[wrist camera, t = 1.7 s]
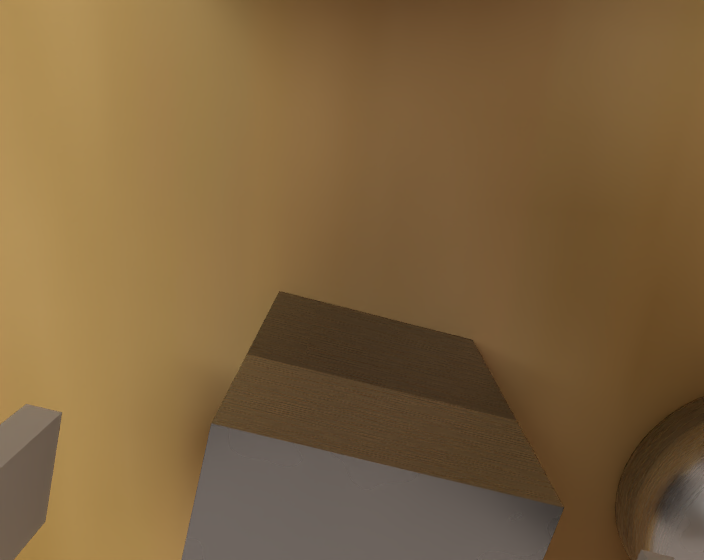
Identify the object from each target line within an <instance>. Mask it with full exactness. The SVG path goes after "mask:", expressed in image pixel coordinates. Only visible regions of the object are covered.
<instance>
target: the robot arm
mask: <svg viewBox="0 0 704 560" xmlns="http://www.w3.org/2000/svg"><path fill="white" fill-rule="evenodd" d="M61 416H62V412H58V411H54V410H50V409H45V408H41V407H37V406H33V405H29V404H26V405H24V406H23V407H22V408H21V409H19V410H18V411H17V412H15V413H14V414H13V415H12V416H10V417H9V418H8V419H7V420H5V421H4V422H3V423H1V424H0V560H14V559H15V557H16V556H17V555H18V554H19V553H20V551H21V550H22V549H23V548H24V547H25V545H26V544H27V543H28V542H29V541H30V539H31V538H32V537H33V536H34V535H35V533H36V532H37V531H38V530H39V529H40V527H41V526H42V525H43V524H44V522H45V520H46V514H47V507H48V501H49V494H50V488H51V481H52V475H53V468H54V461H55V455H56V448H57V442H58V435H59V429H60V422H61ZM637 560H675V559H674V557H670V556H666V555H662V554H658V553H653V552H649V551H645V550H641V551H640V554H639V556H638V558H637Z"/></svg>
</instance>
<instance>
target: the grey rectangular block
mask: <svg viewBox="0 0 704 560" xmlns="http://www.w3.org/2000/svg"><path fill="white" fill-rule="evenodd" d="M563 509H564V507H563V505H562V503H561V501H560V499H559V498H558V496H557V494H556V492H555V490H554V488H553V487H552V485H551V483H550V481H549V479H548V477H547V476H546V474H545V472H544V470H543V468H542V466H541V465H540V463H539V461H538V459H537V457H536V455H535V454H534V452H533V450H532V448H531V446H530V444H529V443H528V441H527V439H526V437H525V435H524V433H523V432H522V430H521V428H520V426H519V424H518V422H517V421H516V419H515V417H514V415H513V413H512V411H511V410H510V408H509V406H508V404H507V402H506V400H505V399H504V397H503V395H502V393H501V391H500V389H499V388H498V386H497V384H496V382H495V380H494V378H493V377H492V375H491V373H490V371H489V369H488V367H487V366H486V364H485V362H484V360H483V358H482V356H481V355H480V353H479V351H478V349H477V347H476V345H475V344H474V342H473V340H470V339H466V338H462V337H458V336H454V335H450V334H446V333H442V332H439V331H435V330H431V329H427V328H423V327H419V326H415V325H411V324H407V323H403V322H399V321H395V320H391V319H387V318H383V317H379V316H375V315H371V314H367V313H363V312H359V311H355V310H351V309H347V308H343V307H339V306H335V305H331V304H327V303H324V302H320V301H316V300H312V299H308V298H304V297H300V296H296V295H292V294H288V293H284V292H280V291H279V293H278V295H277V297H276V299H275V301H274V303H273V305H272V307H271V309H270V311H269V313H268V314H267V316H266V318H265V320H264V322H263V324H262V326H261V328H260V330H259V332H258V334H257V336H256V338H255V340H254V342H253V344H252V345H251V347H250V349H249V351H248V353H247V355H246V357H245V359H244V361H243V363H242V365H241V367H240V369H239V371H238V373H237V375H236V377H235V378H234V380H233V382H232V384H231V386H230V388H229V390H228V392H227V394H226V396H225V398H224V400H223V402H222V404H221V406H220V408H219V409H218V411H217V413H216V415H215V417H214V419H213V421H212V423H211V427H210V432H209V436H208V441H207V446H206V450H205V455H204V459H203V464H202V468H201V473H200V478H199V482H198V487H197V491H196V496H195V501H194V505H193V510H192V514H191V519H190V523H189V528H188V533H187V537H186V542H185V546H184V551H183V556H182V560H543V558H544V556H545V553H546V551H547V548H548V546H549V544H550V541H551V539H552V536H553V534H554V531H555V529H556V526H557V524H558V521H559V519H560V516H561V514H562V511H563Z"/></svg>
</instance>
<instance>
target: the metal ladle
mask: <svg viewBox="0 0 704 560" xmlns="http://www.w3.org/2000/svg"><path fill="white" fill-rule="evenodd" d="M615 512H616V524H617V529H618V533H619V537H620V539H621V542H622V544H623V547H624V549H625V551H626V552H627V554H628V556H629V557H630V559H631V560H637V558H638V556H639V554H640V551H641V550H645V551H649V552H653V553H658V554H662V555H666V556H670V557H674V559H675V560H704V397H701V398H699V399H697V400H695V401H693V402H691V403H689V404H687V405H685V406H683V407H681V408H680V409H678V410H677V411H675V412H674V413H672V414H671V415H669V416H668V417H667V418H665V419H664V420H663V421H662V422H660V423H659V424H658V425H657V426H656V427H655V428H654V429H653V430H652V431H651V432H650V433H649V434H648V435H647V436H646V437H645V438H644V439H643V440H642V442H641V443H640V444H639V446H638V447H637V448H636V450H635V451H634V452H633V454H632V456H631V458H630V459H629V461H628V463H627V465H626V467H625V469H624V472H623V474H622V477H621V479H620V483H619V487H618V491H617V495H616V506H615Z"/></svg>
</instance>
